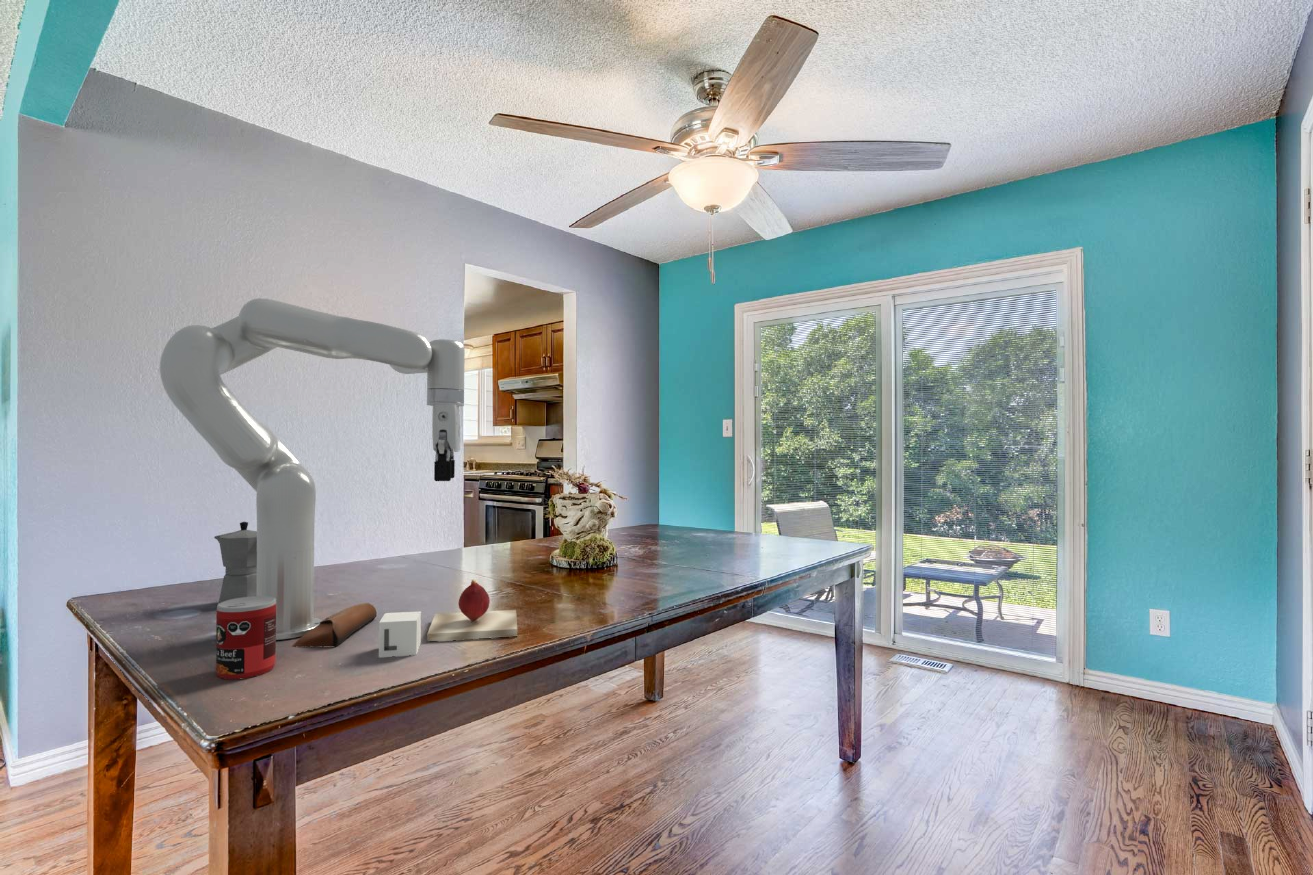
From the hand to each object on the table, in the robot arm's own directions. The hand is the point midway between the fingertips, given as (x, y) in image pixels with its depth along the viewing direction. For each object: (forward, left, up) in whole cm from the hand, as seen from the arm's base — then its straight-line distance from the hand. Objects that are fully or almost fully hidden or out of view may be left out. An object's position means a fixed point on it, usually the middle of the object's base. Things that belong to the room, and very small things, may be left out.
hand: (444, 479), depth 139 cm
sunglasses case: (-18, -10, -29) cm, 36 cm away
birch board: (+7, -13, -28) cm, 32 cm away
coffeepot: (-43, +17, -28) cm, 54 cm away
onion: (+7, -13, -27) cm, 31 cm away
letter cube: (-5, -24, -28) cm, 38 cm away
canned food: (-27, -30, -28) cm, 49 cm away
